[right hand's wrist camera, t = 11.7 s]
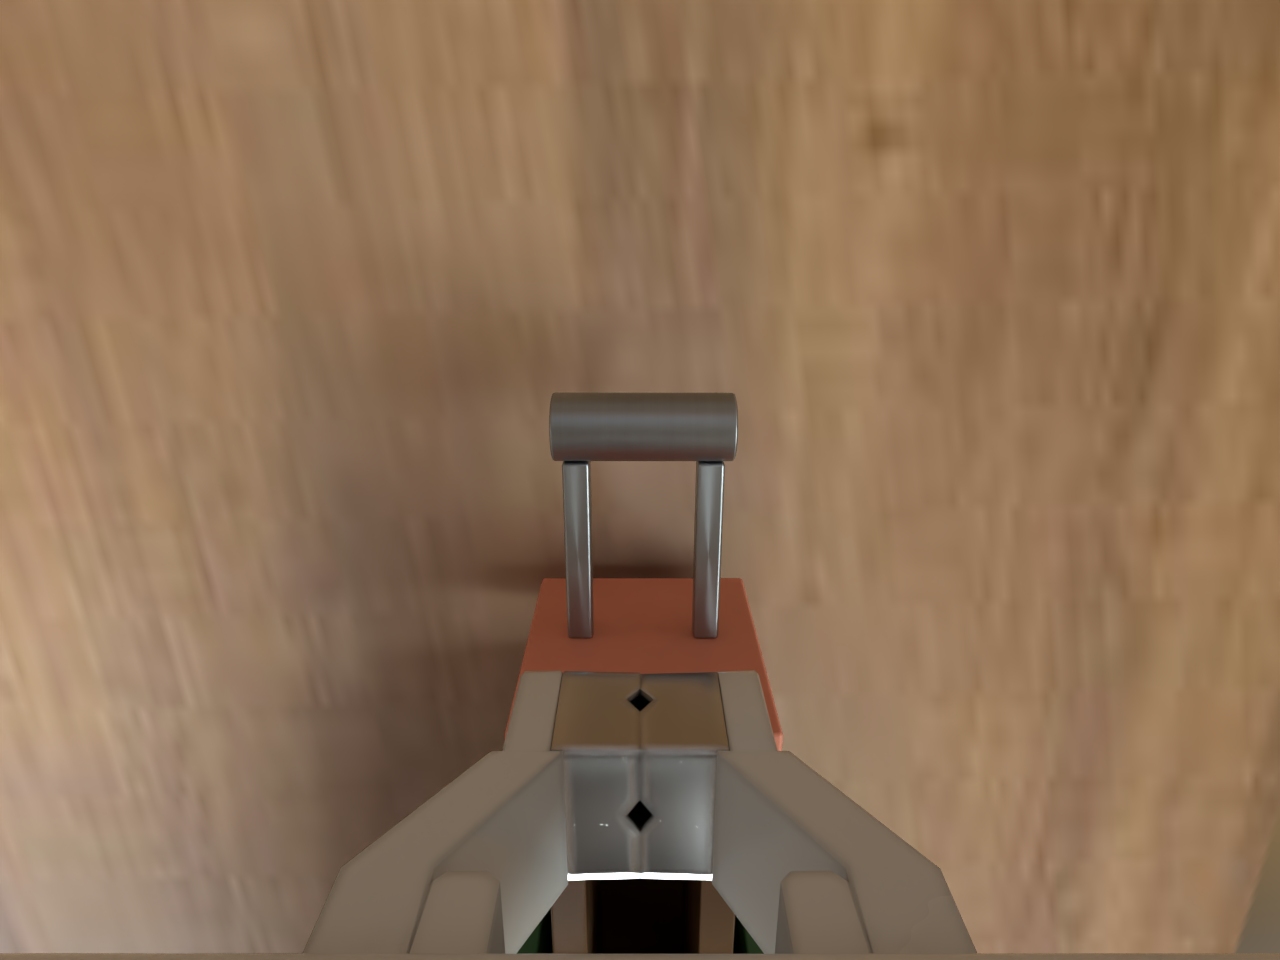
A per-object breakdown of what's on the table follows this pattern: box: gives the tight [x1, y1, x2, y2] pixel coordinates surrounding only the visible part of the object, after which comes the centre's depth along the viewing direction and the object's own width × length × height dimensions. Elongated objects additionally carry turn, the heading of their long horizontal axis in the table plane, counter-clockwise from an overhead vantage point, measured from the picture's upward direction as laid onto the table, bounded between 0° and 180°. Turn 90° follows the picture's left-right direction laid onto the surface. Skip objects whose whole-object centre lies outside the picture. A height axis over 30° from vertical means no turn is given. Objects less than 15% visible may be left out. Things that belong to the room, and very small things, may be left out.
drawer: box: [504, 393, 783, 954], centre depth 21 cm, size 24×6×7 cm, turn 0°
